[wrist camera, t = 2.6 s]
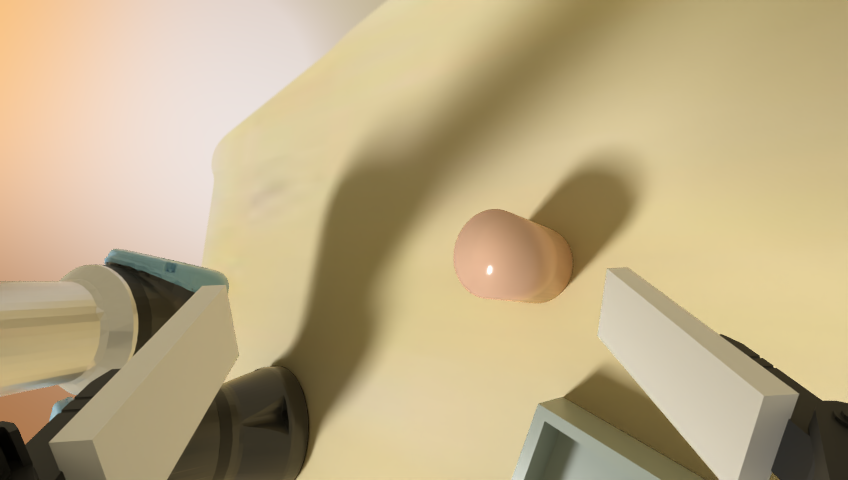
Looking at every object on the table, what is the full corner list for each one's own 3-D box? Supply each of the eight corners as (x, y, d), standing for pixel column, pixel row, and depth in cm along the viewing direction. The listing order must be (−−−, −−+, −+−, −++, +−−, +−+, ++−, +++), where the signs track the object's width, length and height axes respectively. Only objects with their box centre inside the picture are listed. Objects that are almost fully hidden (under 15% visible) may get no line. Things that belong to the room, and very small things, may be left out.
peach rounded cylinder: (557, 315, 33) (512, 312, 28) (492, 287, 37) (443, 280, 32) (584, 238, 32) (543, 221, 27) (515, 218, 37) (469, 200, 32)
